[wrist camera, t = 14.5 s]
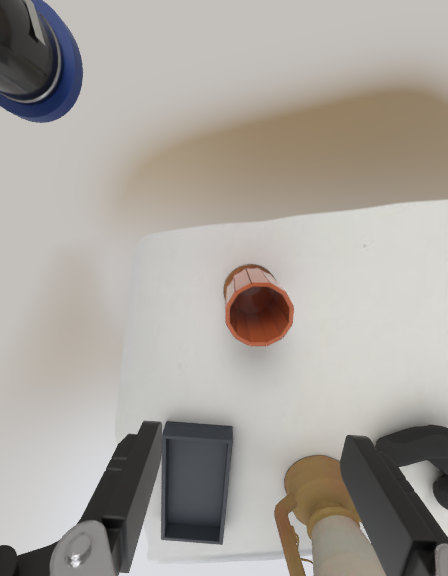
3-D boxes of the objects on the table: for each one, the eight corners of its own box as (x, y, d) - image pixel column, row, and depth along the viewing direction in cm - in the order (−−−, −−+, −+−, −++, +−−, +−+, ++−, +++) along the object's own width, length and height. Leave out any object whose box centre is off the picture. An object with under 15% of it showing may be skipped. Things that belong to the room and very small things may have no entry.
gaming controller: (435, 472, 42) (513, 472, 35) (446, 515, 37) (537, 525, 31) (367, 420, 39) (436, 409, 33) (371, 459, 35) (451, 456, 28)
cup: (217, 299, 32) (213, 326, 23) (242, 257, 31) (248, 269, 22) (259, 322, 33) (269, 357, 24) (285, 282, 31) (306, 304, 22)
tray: (166, 421, 37) (161, 435, 35) (232, 426, 37) (232, 440, 35) (165, 521, 43) (161, 539, 40) (222, 526, 43) (222, 544, 40)
